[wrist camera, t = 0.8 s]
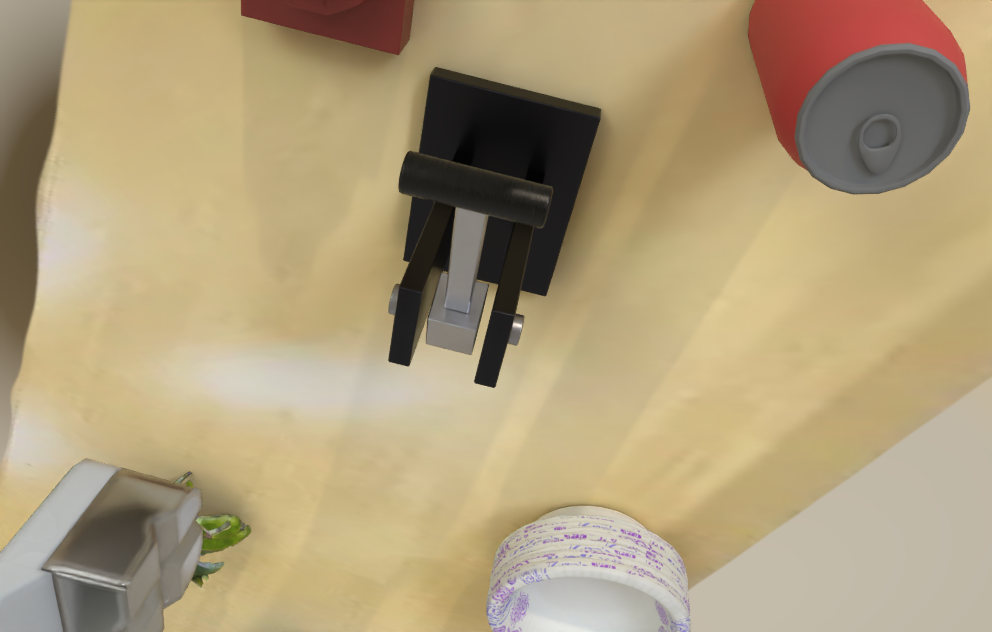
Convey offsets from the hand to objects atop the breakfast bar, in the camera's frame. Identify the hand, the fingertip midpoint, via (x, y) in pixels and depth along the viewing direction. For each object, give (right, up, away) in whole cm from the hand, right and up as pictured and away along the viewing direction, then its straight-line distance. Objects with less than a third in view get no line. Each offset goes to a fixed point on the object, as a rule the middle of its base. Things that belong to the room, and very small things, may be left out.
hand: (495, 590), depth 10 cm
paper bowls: (+8, -15, +53) cm, 56 cm away
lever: (-1, +7, +21) cm, 22 cm away
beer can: (+15, +18, +26) cm, 35 cm away
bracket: (0, +11, +34) cm, 36 cm away
